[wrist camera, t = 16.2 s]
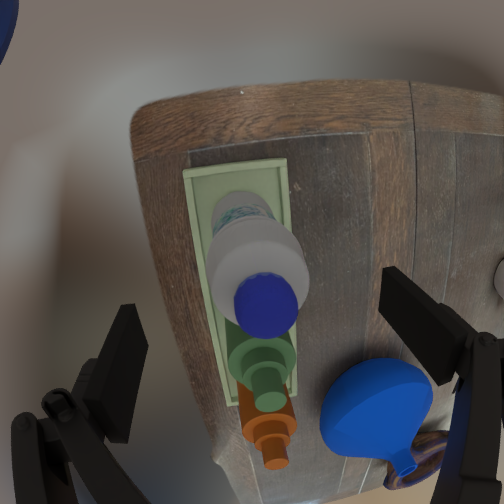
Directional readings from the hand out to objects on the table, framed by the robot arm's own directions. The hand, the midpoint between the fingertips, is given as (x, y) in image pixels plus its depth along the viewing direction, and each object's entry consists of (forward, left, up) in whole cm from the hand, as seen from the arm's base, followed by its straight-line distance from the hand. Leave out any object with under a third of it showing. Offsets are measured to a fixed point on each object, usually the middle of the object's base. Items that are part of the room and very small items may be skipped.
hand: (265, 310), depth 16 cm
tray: (+11, -2, -20) cm, 23 cm away
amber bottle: (+22, -4, -19) cm, 30 cm away
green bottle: (+11, -2, -19) cm, 22 cm away
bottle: (0, 0, -20) cm, 20 cm away
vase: (+33, +11, -20) cm, 40 cm away
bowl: (+66, +24, -20) cm, 73 cm away
